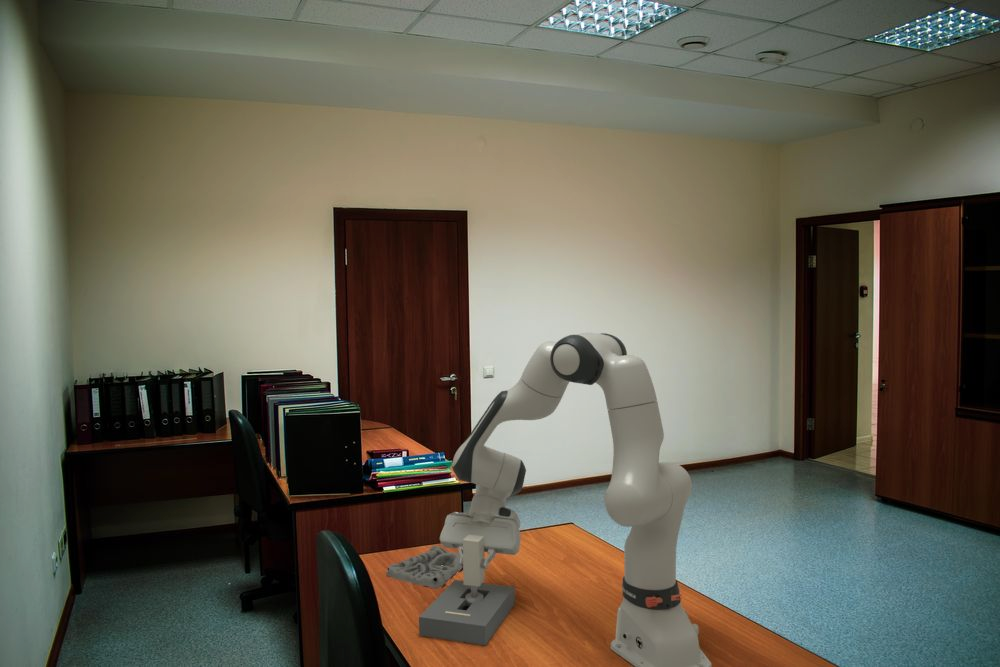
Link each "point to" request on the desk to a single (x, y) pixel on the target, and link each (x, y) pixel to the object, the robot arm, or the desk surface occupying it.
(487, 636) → the keyhole plate
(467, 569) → the post
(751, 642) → the desk surface
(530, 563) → the desk surface
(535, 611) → the desk surface
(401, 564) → the wall plaque
